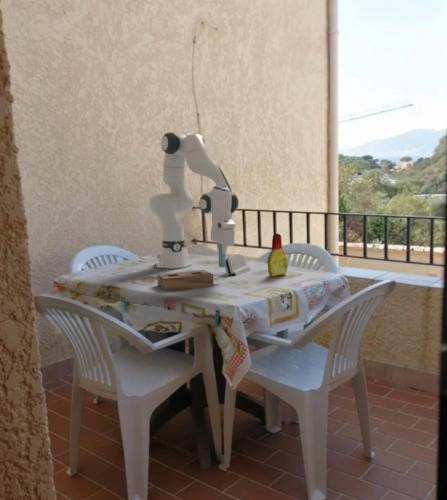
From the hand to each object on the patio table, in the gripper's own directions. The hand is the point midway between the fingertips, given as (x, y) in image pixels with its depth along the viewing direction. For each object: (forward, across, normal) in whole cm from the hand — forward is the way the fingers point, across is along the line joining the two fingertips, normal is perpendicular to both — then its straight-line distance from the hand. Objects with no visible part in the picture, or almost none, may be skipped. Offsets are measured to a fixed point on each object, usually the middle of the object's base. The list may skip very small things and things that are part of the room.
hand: (222, 253), depth 232 cm
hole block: (+13, +1, -18) cm, 22 cm away
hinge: (+14, -17, +14) cm, 26 cm away
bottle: (+13, 0, +28) cm, 31 cm away
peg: (+6, 0, 0) cm, 6 cm away
